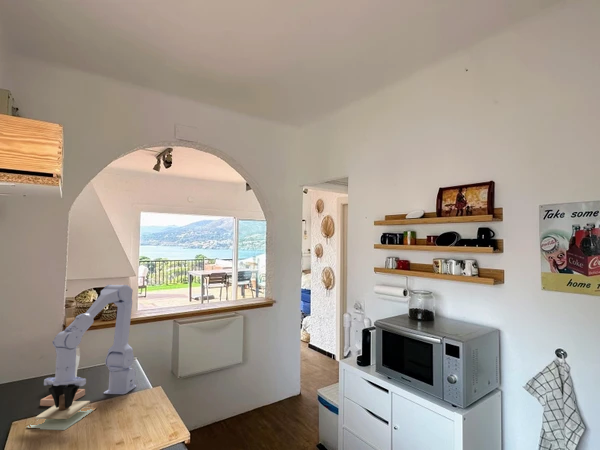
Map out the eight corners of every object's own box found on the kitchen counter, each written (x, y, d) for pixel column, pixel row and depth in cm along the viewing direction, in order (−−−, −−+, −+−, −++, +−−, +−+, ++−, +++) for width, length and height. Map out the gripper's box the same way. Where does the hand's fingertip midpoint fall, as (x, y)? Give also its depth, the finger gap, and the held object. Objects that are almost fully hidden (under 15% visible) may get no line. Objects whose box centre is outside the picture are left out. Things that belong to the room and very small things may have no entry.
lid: (90, 402, 116) (90, 388, 116) (68, 418, 105) (68, 402, 105) (60, 403, 116) (60, 388, 116) (35, 419, 105) (35, 403, 105)
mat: (96, 409, 116) (96, 408, 116) (64, 430, 102) (64, 428, 102) (61, 407, 118) (62, 406, 118) (25, 428, 104) (25, 427, 104)
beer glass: (71, 386, 138) (72, 350, 139) (55, 386, 138) (57, 350, 139) (82, 379, 145) (83, 346, 146) (67, 379, 145) (69, 346, 146)
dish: (85, 394, 129) (85, 389, 129) (64, 406, 119) (64, 400, 119) (62, 394, 130) (62, 388, 130) (40, 405, 120) (40, 399, 120)
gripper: (36, 369, 108) (34, 411, 107) (75, 370, 107) (73, 412, 106) (54, 362, 115) (52, 401, 114) (91, 363, 114) (89, 403, 113)
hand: (63, 406), depth 110 cm, fingers closed on lid, 3 cm apart
